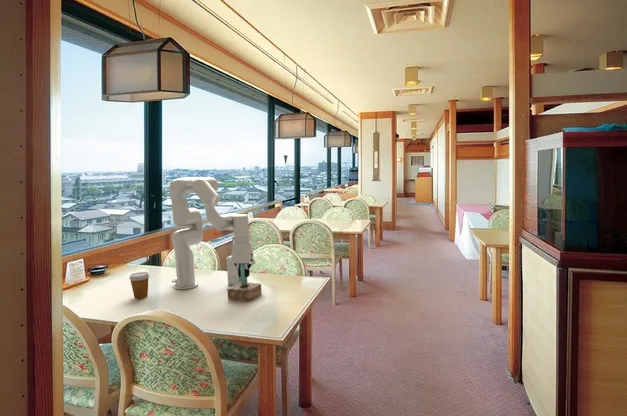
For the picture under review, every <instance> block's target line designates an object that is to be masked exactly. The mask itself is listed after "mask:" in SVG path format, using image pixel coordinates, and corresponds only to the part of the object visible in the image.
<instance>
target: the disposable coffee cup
mask: <svg viewBox="0 0 627 416" xmlns="http://www.w3.org/2000/svg"><path fill="white" fill-rule="evenodd" d="M128 279H129V281H130V285H131V288H132V293H133V299H135V298H138V299H137V300H140V299H139V298H143V299H146V298H148V297H149V296H148V295H149V279H150V274H149V273H148V272H146V271H141V272H140V271H139V272H135V273H131V274H130V275H129V278H128ZM147 296H148V297H147ZM145 297H146V298H145Z"/></svg>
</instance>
